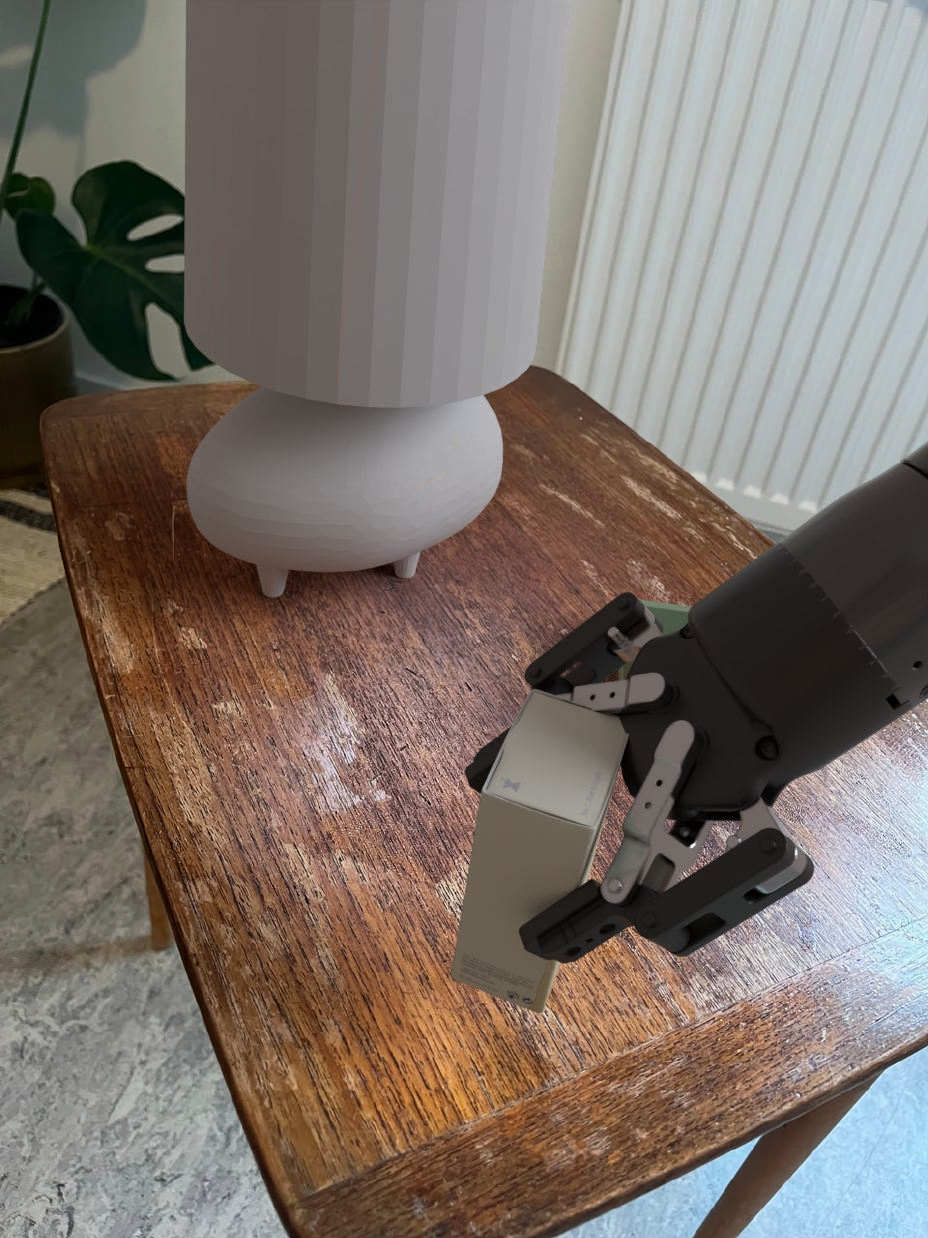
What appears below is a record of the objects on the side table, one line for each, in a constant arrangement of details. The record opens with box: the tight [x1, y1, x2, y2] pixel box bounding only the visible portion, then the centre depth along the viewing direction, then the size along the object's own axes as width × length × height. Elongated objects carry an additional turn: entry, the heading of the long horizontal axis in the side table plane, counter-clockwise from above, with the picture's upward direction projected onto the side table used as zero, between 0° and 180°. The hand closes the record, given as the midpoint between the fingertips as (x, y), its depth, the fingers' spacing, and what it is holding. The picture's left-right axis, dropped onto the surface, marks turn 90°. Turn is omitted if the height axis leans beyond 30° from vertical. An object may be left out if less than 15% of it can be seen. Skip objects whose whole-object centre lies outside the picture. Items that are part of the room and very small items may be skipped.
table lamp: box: [183, 0, 571, 598], centre depth 59 cm, size 23×22×40 cm
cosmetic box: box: [450, 689, 629, 1014], centre depth 39 cm, size 6×4×12 cm
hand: (503, 861), depth 39 cm, fingers closed on cosmetic box, 7 cm apart
